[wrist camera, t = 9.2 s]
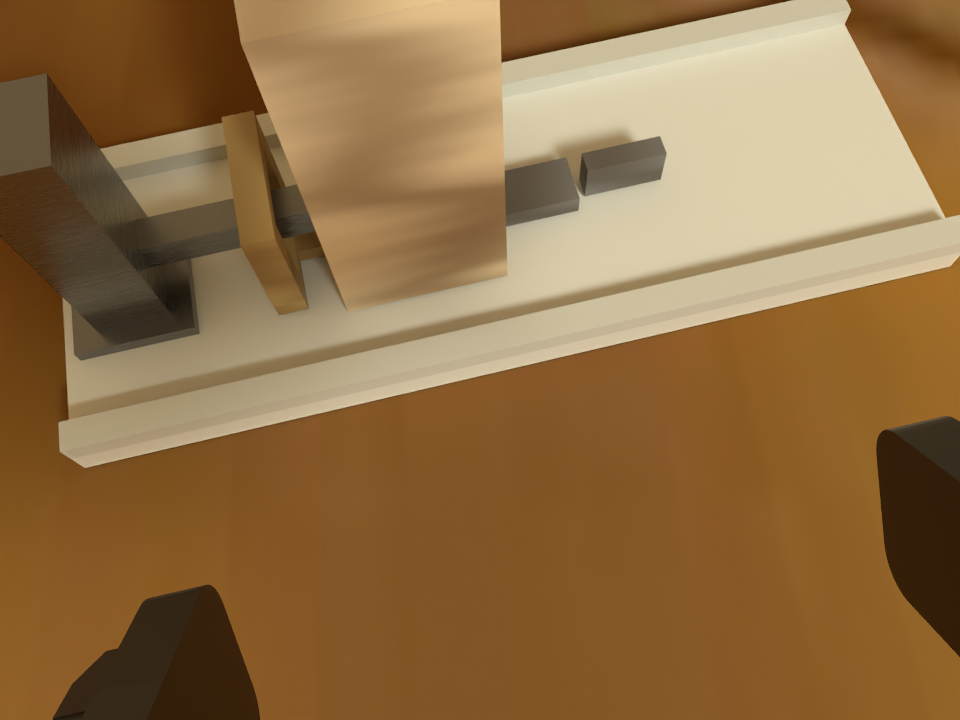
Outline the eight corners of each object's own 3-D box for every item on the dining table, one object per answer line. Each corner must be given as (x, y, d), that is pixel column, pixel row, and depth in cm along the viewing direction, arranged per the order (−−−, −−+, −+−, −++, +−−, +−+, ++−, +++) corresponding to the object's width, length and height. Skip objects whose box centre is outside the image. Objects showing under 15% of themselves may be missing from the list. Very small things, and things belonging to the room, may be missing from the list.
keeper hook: (324, 191, 26) (259, 6, 19) (346, 300, 24) (282, 140, 18) (73, 246, 25) (-78, 77, 19) (81, 360, 24) (-81, 218, 18)
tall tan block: (634, 110, 26) (694, -232, 17) (681, 236, 25) (777, -70, 15) (259, 192, 26) (114, -117, 17) (281, 326, 24) (133, 66, 15)
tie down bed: (826, 24, 28) (840, -10, 27) (949, 266, 25) (973, 240, 24) (68, 188, 27) (46, 160, 26) (85, 468, 24) (59, 451, 22)
